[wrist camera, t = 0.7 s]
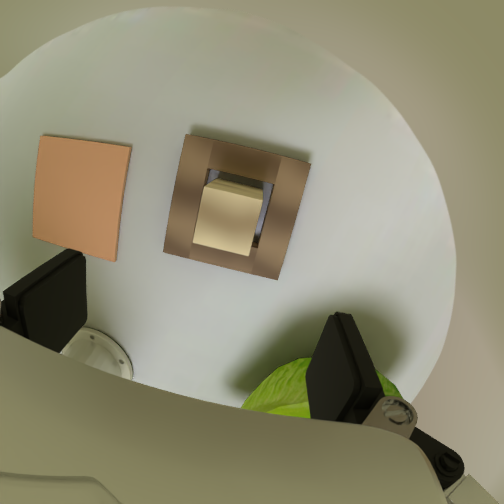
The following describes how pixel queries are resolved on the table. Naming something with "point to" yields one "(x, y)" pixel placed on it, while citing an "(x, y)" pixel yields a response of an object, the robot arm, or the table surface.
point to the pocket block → (248, 165)
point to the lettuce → (293, 391)
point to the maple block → (228, 216)
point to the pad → (80, 194)
